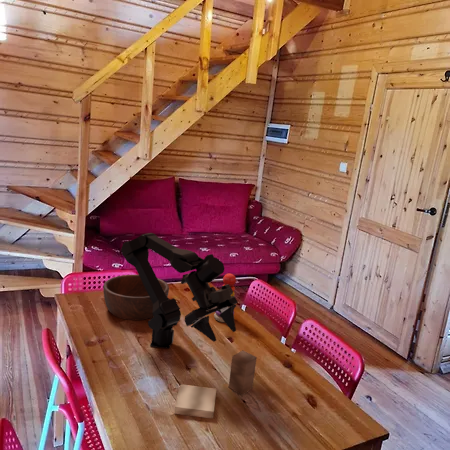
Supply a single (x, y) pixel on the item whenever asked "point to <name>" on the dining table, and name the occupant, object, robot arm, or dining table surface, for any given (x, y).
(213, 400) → the birch plinth
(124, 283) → the wooden bowl
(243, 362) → the walnut pillar
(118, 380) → the dining table surface
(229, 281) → the stacking toy
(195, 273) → the robot arm
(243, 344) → the dining table surface
